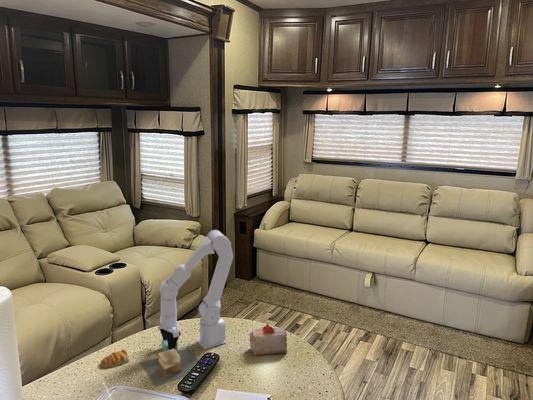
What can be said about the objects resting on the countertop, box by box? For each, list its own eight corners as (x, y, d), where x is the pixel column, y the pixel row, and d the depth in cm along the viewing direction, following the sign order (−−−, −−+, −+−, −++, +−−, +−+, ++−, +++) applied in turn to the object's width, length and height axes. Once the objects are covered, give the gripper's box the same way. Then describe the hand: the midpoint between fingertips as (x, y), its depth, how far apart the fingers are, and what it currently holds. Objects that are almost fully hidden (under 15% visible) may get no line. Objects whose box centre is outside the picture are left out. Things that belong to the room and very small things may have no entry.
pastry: (104, 372, 138) (103, 362, 137) (97, 364, 143) (97, 354, 142) (131, 363, 144) (130, 353, 143) (123, 355, 149) (123, 345, 148)
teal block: (173, 345, 155) (173, 337, 155) (177, 351, 152) (177, 342, 151) (161, 349, 153) (161, 340, 152) (166, 354, 149) (165, 346, 149)
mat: (187, 349, 153) (187, 348, 153) (206, 370, 140) (206, 369, 140) (140, 363, 143) (140, 362, 143) (155, 387, 130) (155, 386, 130)
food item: (251, 358, 148) (252, 333, 146) (248, 346, 156) (248, 323, 154) (288, 354, 151) (288, 330, 149) (283, 343, 158) (283, 320, 157)
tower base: (174, 363, 143) (174, 355, 142) (181, 372, 138) (181, 364, 138) (158, 369, 140) (157, 361, 139) (164, 377, 135) (164, 369, 134)
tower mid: (174, 356, 142) (173, 348, 142) (180, 364, 138) (180, 355, 137) (158, 361, 139) (158, 353, 138) (164, 369, 135) (164, 360, 134)
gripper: (151, 308, 153) (152, 341, 156) (165, 323, 141) (166, 359, 144) (169, 303, 157) (170, 336, 160) (184, 318, 145) (185, 353, 148)
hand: (169, 346), depth 152 cm, fingers closed on teal block, 4 cm apart
